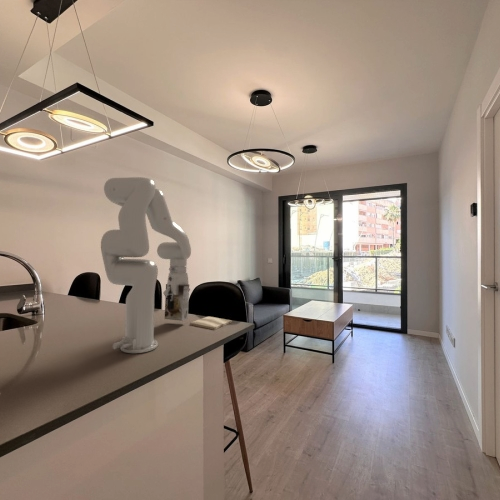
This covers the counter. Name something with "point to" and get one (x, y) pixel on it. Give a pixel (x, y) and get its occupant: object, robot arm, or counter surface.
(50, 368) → the counter surface
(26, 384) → the counter surface
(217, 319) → the cream folded cloth
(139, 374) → the counter surface
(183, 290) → the coffee box
